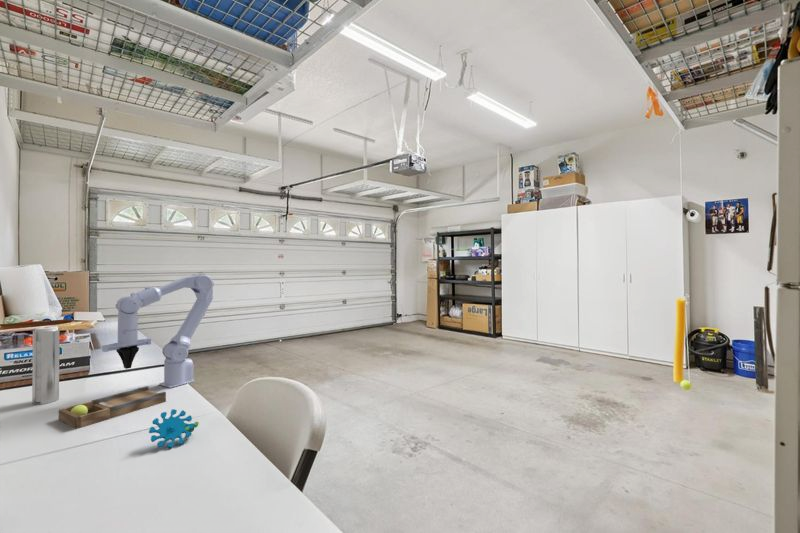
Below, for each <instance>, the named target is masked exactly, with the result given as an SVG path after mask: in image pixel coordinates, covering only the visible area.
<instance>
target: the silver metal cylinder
mask: <svg viewBox="0 0 800 533" xmlns="http://www.w3.org/2000/svg"><path fill="white" fill-rule="evenodd" d="M31 376H32V377H31V380H32V382H31V383H32V386H31V387H32V391H31V392H32V395H31V397H32V398H31V403H32V405H37V406H38V405H46V404H51V403H54V402H57V401H58V400H59V398H60V329H59V327H58V326H56V325H51V326H50V325H49V326H41V327H36V328H34V330H33V331H32V375H31Z"/></svg>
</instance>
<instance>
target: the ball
mask: <svg viewBox="0 0 800 533" xmlns="http://www.w3.org/2000/svg"><path fill="white" fill-rule="evenodd" d="M76 405H77V406H75V405H74V406H75V407H74V408H72V410H71V411H70V412H72V413H74V414H76V415H78V416H82V415H85V414H87V412H88V409H87V407H86V406H84V405H79V404H76Z"/></svg>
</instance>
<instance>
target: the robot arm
mask: <svg viewBox="0 0 800 533" xmlns="http://www.w3.org/2000/svg"><path fill="white" fill-rule="evenodd" d="M214 286H215V282H214V281H213V279H212V277H211V276H210V275H209V274H205V273H204V274H198V273H193V274H191V275H186V276H183V277H180V278H178V279H176V280H173V281H171V282H169V283H166V284H164V285H162V286H159V287H155V286H146V287H144V289H142V290H141V291H140V290H139V291H137V292H131V293H130V296H127V295H126V296H122V297H120V298H119V299H118V300H117V302H116V304H115V308H116V310H117V311H118V312H117V313H118V314H117V316H118V317H117V342H115V343H111V344H105V345H101V352H102V353H103V352H104V353H106V352H110V351H116V353H117V354H118V356H119V357H120V360H121V362H122V365H123V369H126V370H127V369H131V368H132V366H133V362H134V359H135V357H136V355H137V353H138V351H139V350H140V347H139V346H146V345H147V346H148V345H151V344H152V339H151V338H143V339H138V334H139V330H138V329H139V328H138V327H139V326H138V321H139V318H138V311H139V310H140V308H145V307H147V306H150V305H151V304H154V303H156V302H157V303H158V302H159V301H161V299H162V296H165V295H168V294H171V293H173V292H175V291H178V290H182V289H185V288H186V289H188V288H190V289H191V290H192V292H193V293H194V294H195V298H196V299H195V302H194V303H193V304H192V307H191V309H190V310H189V311H188V313H187V316H186V317H185V319H184V321H183V322H182V324H181V326H180V327H179V330H178V331H177V333H176V334H175V335H174V336H172V338H171V339H170V341H169V342H167V343H166V344H165V345H164V346H163V348H162V350H161V351H162V355H163V357H165V358H164V361H163V362H164V364H163V366H164V367H163V370H164V371H163V374H164V375H163V376H164V377H163V382H160V383H158V385H159V386H163V387H166V388H169V389H171V388H172V389H173V388H176V387H179V386H182V385H183V386H184V385H187V384H189V383H190V384H191V383H193V382H195V379H194V362H193V360H192V359H191V358H188V355H189V349H190V347H191V339H192V337H193V335H194V334H195V331H196V330H197V328H198V326H199V324H200V323H201V321H202V319H203V318H204V316H205V314H206V312H207V310H208V308H209V307H210V306H211V303H212V301H213V299H214V296H213V294H214V291H213V290H214V288H213V287H214ZM185 382H186V383H185Z"/></svg>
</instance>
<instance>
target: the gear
mask: <svg viewBox="0 0 800 533" xmlns="http://www.w3.org/2000/svg"><path fill="white" fill-rule="evenodd" d="M177 412H178V411H177V409H174V408H173V409H171V410H170V415H169V417H167V415H168V414H167V413H168V412H166V411H164V412H161V413H160V418H161V419H162V422H159V420H160V419H159V417H156V418H154V419H153V420H152V421H151V423H152V425H156V426H157V427H158V429H156V428H155V427H154V426H150V427H149V430H148V433H149V434H153V433H156V434H159V435H155V434H153V435H151V436H150V441H151V442H152V443H153V442H156V441H157V440H159V439H163V440H159V441H157V443H156V444H157V447H159V448H162V447H163V446H164V444H165V443H166V442H168V441H170V442H168V443H167V446H166V447H167V448H168V449H172V447H174V445H175V444H174V442H175V440H176V439H177V438H178V439H179V440H178V441H177V445H178V446H180V445H183V444H184V443H185V440H184V439H183V437H182V434H185V438H186V439H188V438H190V437H191V436H192V433H193V432H194V431H195V428H197V427H198V426H199V423H200V422H199V421H195V422H194V423H189V422H191V421H192V419H193V417H192V415H188V416H186V413H187V412H186V411H185V410H183V409H182V410H181V411H180V413H179V414H178V415H176V414H177ZM174 415H176V416H174ZM185 416H186V417H185ZM166 417H167V418H166ZM181 417H184V418H181ZM186 422H188V423H186Z"/></svg>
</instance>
